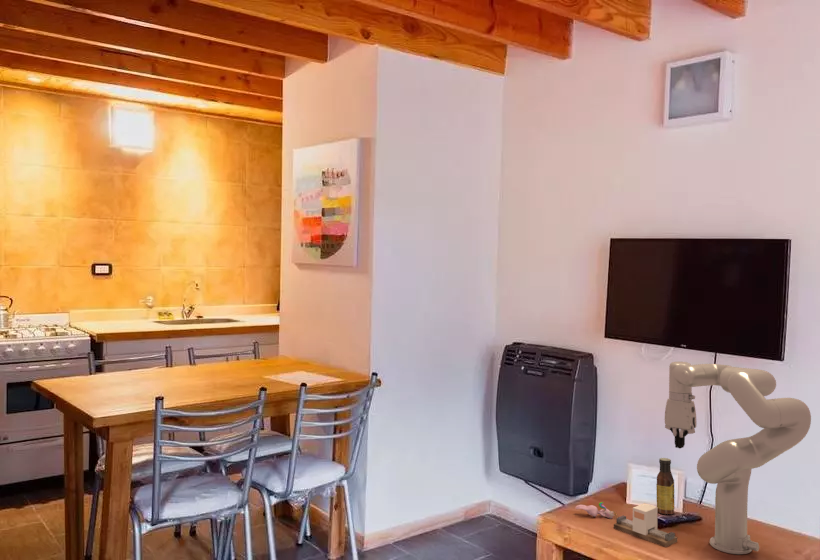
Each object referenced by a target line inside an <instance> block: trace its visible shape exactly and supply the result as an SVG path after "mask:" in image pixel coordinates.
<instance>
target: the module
mask: <svg viewBox="0 0 820 560" xmlns="http://www.w3.org/2000/svg"><path fill="white" fill-rule="evenodd" d="M657 510H658V507H657V506H655V505H652V504H650V503H649V504H648V503H645V502H644V503H642V504H639V505H636V506H633V507H632V521H633V531H635V532H637V533H640V534H643V535H648V530H649V529H651V528H655V529H658V511H657Z"/></svg>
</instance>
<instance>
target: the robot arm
mask: <svg viewBox="0 0 820 560" xmlns="http://www.w3.org/2000/svg"><path fill="white" fill-rule="evenodd" d="M668 366H669V370H668V371H669V374H668V375H669V377H668V381H669V382H668V398H667V400H666V404H665V410H664V424H665V425H664V428H665V429H666V430H669V431H670V432H671V433H672V435H673V437H674V445H675V446H674V447H675V448H677V449H682V448H684V447H685V444H686V443H685V439H686V438H685V437H686V436H687V435H688V434H689V435H692V434H695V433H696V430H695V429H696V428H697V424H698V423H697V412H696V411H697V409H696V404H695V402H694V400H696V395H693V391H692V390H693V389H692V388H698V387H707V386H718V387H721V388H722V390H723V391H724V392H726V393H730V394H731V396H732V398H733V399H734V401H735V402H736V403H737V404H738V406H739V407H741V409H742V410H743V411H744V413H745V414H746V415H747V417H749V418H750V419H749V420H751V421H752V422H753V423H754V424H755V425H756V426H757V427H759V428H761V430H760V431H759V432H756V433H754V434H753V435H750V436H748V437H742V438H741V437H740V438H734V439H733V438H732V439H731V438H730V439H728V440H725V441H723V442H720V443H718V444H717V445H715V446H714V447H713V448H711V449H709V450H707V451H706V452H705V453H703V454H702V455H701V456H700V457H699V458H698V459H697V464H696V471H697V474H698V476H699V477H700V479H702V481H704V482H706V483H708V484H713V485H715V484H717V485H716V487H715V497H714V498H715V499H714V500H715V501H714V502H715V506H714V508H715V509H714V513H715V514H714V520H715V521H714V536H712V537H710V538H709V544H710V546H711V547H712V548H714V549H715V550H718V551H720V552H722V553H723V552H724V553H727V554H730V555H731V554H732V555H747V554H750V553H751V552H752V551H755V552H759V551H760V545H759V542H756V541H753V540H752V539H751V535H749V534H748V501H749V500H748V497H749V483H750V480H751V475H752V469H757V468H760V467H762V466H764V465H766V464H767V463H768V462H770V461H772V460H774V459H775V458H778V457H779V456H780V455H781V454H784V453H785V452H787V451H789V450H790V449H792V448H793V447H795V446H796V445H798V444H800V442H802V440H803V439H804V438H805V437H806V436H807V435H808V433H809V431H810V428H811V424H812V415H811V414H812V413H811V410H810V408H809V406H808V405H807V404H806V403H805V402H804V401H802V400H800V399H797V398H794V397H778V398H770V399H767V398H766V397H767V396H770V395H771V394H773V393H774V392H775V390H776V389H777V388H776V387H777V380H776V379H775V377H774V375H773V374H772V373H771V372H769V371H766V370H763V369H757V368H749V367H748V368H747V367H739V366H732V365H728V364H719V363H718V364H717V363H700V364H691V363H690V362H687V361H672V362H671V363H670V364H669V365H668Z"/></svg>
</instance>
